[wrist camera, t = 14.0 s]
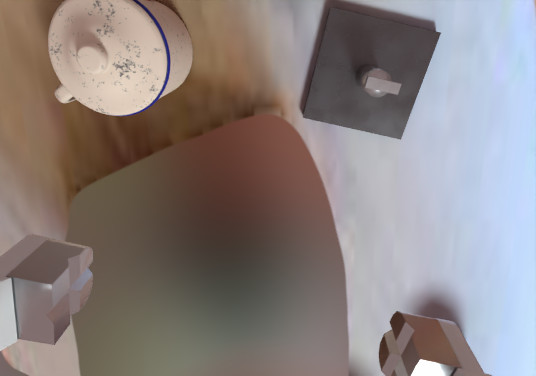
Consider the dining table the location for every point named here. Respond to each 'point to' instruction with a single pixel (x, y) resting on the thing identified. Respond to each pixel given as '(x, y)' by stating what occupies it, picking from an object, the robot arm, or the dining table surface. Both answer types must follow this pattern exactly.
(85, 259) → the robot arm
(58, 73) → the teacup with lid
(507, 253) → the dining table surface
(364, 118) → the post stand
